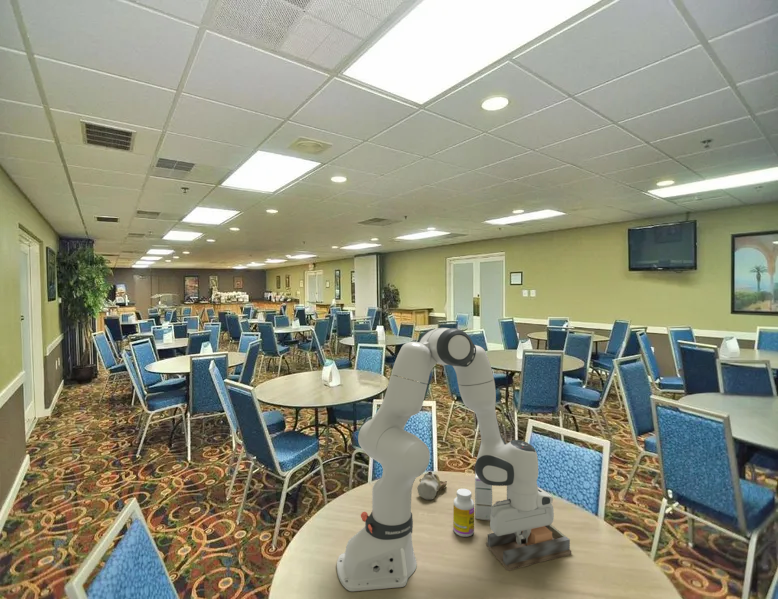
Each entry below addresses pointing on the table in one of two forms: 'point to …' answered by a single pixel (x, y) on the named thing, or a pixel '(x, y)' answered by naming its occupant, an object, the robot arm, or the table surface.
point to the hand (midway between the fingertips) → (521, 542)
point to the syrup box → (482, 499)
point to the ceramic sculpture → (430, 485)
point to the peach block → (539, 535)
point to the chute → (527, 549)
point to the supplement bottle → (463, 513)
